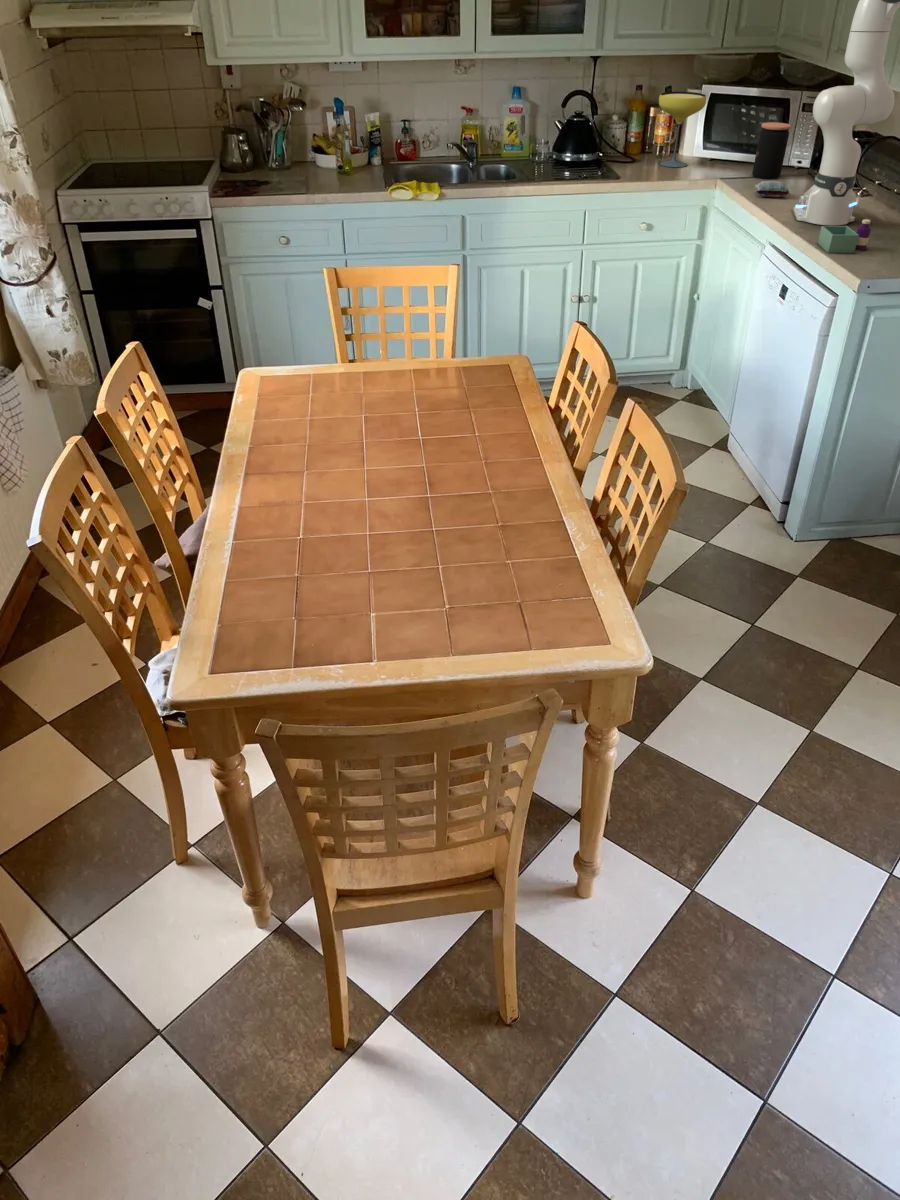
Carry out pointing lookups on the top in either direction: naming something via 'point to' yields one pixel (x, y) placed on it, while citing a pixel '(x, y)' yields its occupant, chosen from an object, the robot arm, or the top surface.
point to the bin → (838, 239)
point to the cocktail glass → (680, 113)
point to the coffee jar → (771, 150)
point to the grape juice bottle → (863, 235)
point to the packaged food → (772, 189)
